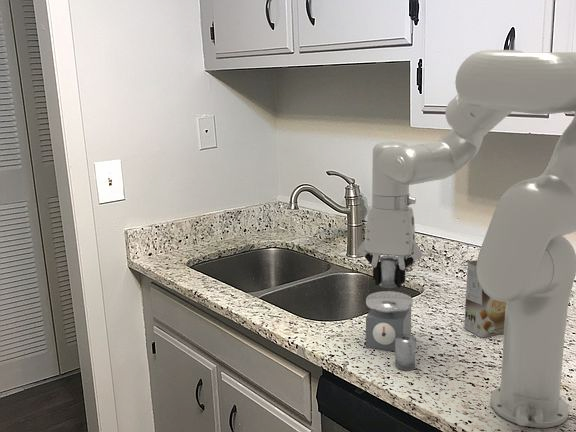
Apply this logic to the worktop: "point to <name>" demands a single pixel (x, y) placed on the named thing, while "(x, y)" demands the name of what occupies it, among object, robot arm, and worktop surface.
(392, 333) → the scale
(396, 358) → the cylinder
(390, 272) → the cylinder
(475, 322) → the printed food package
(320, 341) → the worktop surface
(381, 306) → the pan
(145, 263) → the worktop surface
